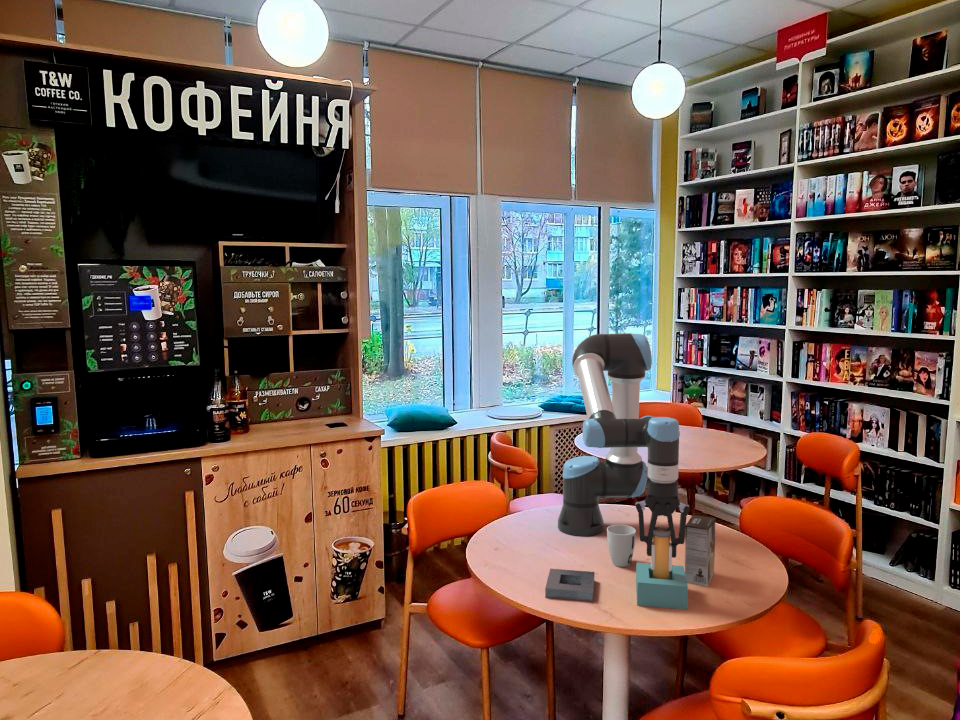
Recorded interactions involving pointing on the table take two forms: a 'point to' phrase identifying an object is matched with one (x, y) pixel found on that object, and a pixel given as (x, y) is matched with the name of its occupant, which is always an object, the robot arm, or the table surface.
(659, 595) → the socket
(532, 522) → the table surface
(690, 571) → the coffee box
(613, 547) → the cup
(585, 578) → the mount
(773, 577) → the table surface
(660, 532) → the pin
